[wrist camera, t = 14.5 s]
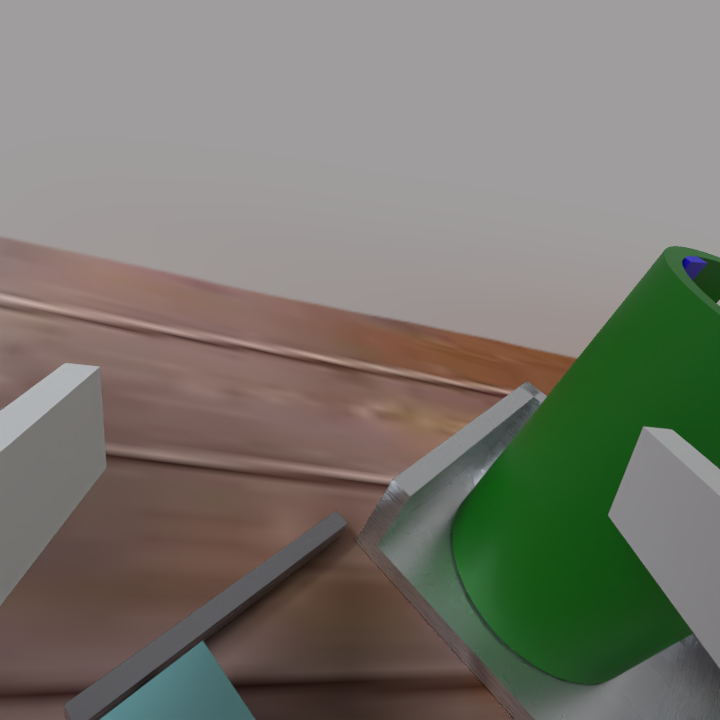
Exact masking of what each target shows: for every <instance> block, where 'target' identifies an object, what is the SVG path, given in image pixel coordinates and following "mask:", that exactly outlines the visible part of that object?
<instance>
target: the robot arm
mask: <svg viewBox="0 0 720 720" xmlns="http://www.w3.org/2000/svg"><path fill="white" fill-rule="evenodd" d="M106 468H107V466H106V451H105V436H104V421H103V406H102V391H101V376H100V367H98V366H89V365H80V364H71V363H65V364H63V365H62V366H60V367H59V368H58V369H56V370H55V371H54V372H52V373H51V374H50V375H48V376H47V377H46V378H44V379H43V380H41V381H40V382H39V383H37V384H36V385H35V386H33V387H32V388H31V389H29V390H28V391H27V392H25V393H24V394H22V395H21V396H20V397H18V398H17V399H16V400H14V401H13V402H12V403H10V404H9V405H8V406H6V407H5V408H4V409H2V410H1V411H0V606H1V604H2V603H3V602H4V601H5V599H6V598H7V597H8V595H9V594H10V593H11V591H12V590H13V589H14V588H15V586H16V585H17V584H18V582H19V581H20V580H21V578H22V577H23V576H24V575H25V573H26V572H27V571H28V569H29V568H30V567H31V565H32V564H33V563H34V561H35V560H36V559H37V558H38V556H39V555H40V554H41V552H42V551H43V550H44V548H45V547H46V546H47V545H48V543H49V542H50V541H51V539H52V538H53V537H54V535H55V534H56V533H57V532H58V530H59V529H60V528H61V526H62V525H63V524H64V522H65V521H66V520H67V519H68V517H69V516H70V515H71V513H72V512H73V511H74V509H75V508H76V507H77V505H78V504H79V503H80V502H81V500H82V499H83V498H84V496H85V495H86V494H87V492H88V491H89V490H90V489H91V487H92V486H93V485H94V483H95V482H96V481H97V479H98V478H99V477H100V476H101V474H102V473H103V472H104V470H105V469H106ZM608 516H609V517H610V519H611V520H612V522H613V523H614V524H615V526H616V527H617V528H618V530H619V531H620V533H621V534H622V535H623V537H624V538H625V539H626V541H627V542H628V544H629V545H630V546H631V548H632V549H633V550H634V552H635V553H636V555H637V556H638V557H639V559H640V560H641V561H642V563H643V564H644V565H645V567H646V568H647V570H648V571H649V572H650V574H651V575H652V576H653V578H654V579H655V581H656V582H657V583H658V585H659V586H660V587H661V589H662V590H663V592H664V593H665V594H666V596H667V597H668V598H669V600H670V601H671V603H672V604H673V605H674V607H675V608H676V609H677V611H678V612H679V613H680V615H681V616H682V618H683V619H684V620H685V622H686V623H687V624H688V626H689V627H690V629H691V630H692V631H693V633H694V634H695V635H696V637H697V638H698V640H699V641H700V642H701V644H702V645H703V646H704V648H705V649H706V651H707V652H708V653H709V655H710V656H711V657H712V659H713V660H714V661H715V663H716V664H717V666H718V667H719V668H720V469H719V468H718V467H716V466H715V465H714V464H713V463H712V462H710V461H709V460H708V459H707V458H706V457H705V456H703V455H702V454H701V453H700V452H699V451H697V450H696V449H695V448H694V447H693V446H691V445H690V444H689V443H688V442H687V441H685V440H684V439H683V438H682V437H681V436H679V435H678V434H677V433H676V432H675V431H673V430H672V429H663V428H653V427H644V426H643V428H642V431H641V434H640V436H639V439H638V441H637V444H636V446H635V449H634V451H633V454H632V456H631V459H630V461H629V464H628V466H627V469H626V471H625V474H624V476H623V479H622V481H621V484H620V486H619V489H618V491H617V494H616V496H615V499H614V501H613V504H612V506H611V509H610V511H609V514H608Z"/></svg>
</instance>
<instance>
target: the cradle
mask: <svg viewBox="0 0 720 720" xmlns="http://www.w3.org/2000/svg"><path fill="white" fill-rule="evenodd" d="M546 397H547V396H546V395H545V394H543V393H542V392H541V391H539V390H538V389H537V388H536V387H534V386H533V385H532V384H530V383H529V382H528V381H526V382H525V383H524V384H522V385H521V386H520V387H518V388H517V389H515V390H514V391H513V392H511V393H510V394H509V395H507V396H506V397H505V398H503V399H502V400H500V401H499V402H498V403H496V404H495V405H494V406H492V407H491V408H490V409H488V410H487V411H485V412H484V413H483V414H481V415H480V416H479V417H477V418H476V419H475V420H473V421H472V422H470V423H469V424H468V425H466V426H465V427H464V428H462V429H461V430H460V431H458V432H457V433H455V434H454V435H453V436H451V437H450V438H449V439H447V440H446V441H445V442H443V443H442V444H440V445H439V446H438V447H436V448H435V449H434V450H432V451H431V452H430V453H428V454H427V455H425V456H424V457H423V458H421V459H420V460H419V461H417V462H416V463H415V464H413V465H412V466H410V467H409V468H408V469H406V470H405V471H404V472H402V473H401V474H400V475H398V476H397V477H395V478H394V479H393V480H392V482H391V483H390V485H389V487H388V488H387V490H386V492H385V493H384V495H383V496H382V498H381V500H380V501H379V503H378V505H377V506H376V508H375V510H374V511H373V513H372V514H371V516H370V518H369V519H368V521H367V523H366V524H365V526H364V527H363V529H362V531H361V532H360V534H359V536H358V537H357V539H356V540H355V541H356V542H357V543H358V544H359V545H360V546H361V547H362V549H363V550H364V551H365V552H366V553H367V554H368V555H369V556H370V558H371V559H372V560H373V561H374V562H375V563H376V564H377V565H378V567H379V568H380V569H381V570H382V571H383V572H384V573H385V574H386V576H387V577H388V578H389V579H390V580H391V581H392V582H393V583H394V584H395V586H396V587H397V588H398V589H399V590H400V591H401V592H402V593H403V595H404V596H405V597H406V598H407V599H408V600H409V601H410V602H411V604H412V605H413V606H414V607H415V608H416V609H417V610H418V611H419V612H420V614H421V615H422V616H423V617H424V618H425V619H426V620H427V621H428V623H429V624H430V625H431V626H432V627H433V628H434V629H435V630H436V632H437V633H438V634H439V635H440V636H441V637H442V638H443V639H444V640H445V642H446V643H447V644H448V645H449V646H450V647H451V648H452V649H453V651H454V652H455V653H456V654H457V655H458V656H459V657H460V658H461V660H462V661H463V662H464V663H465V664H466V665H467V666H468V667H469V668H470V670H471V671H472V672H473V673H474V674H475V675H476V676H477V677H478V679H479V680H480V681H481V682H482V683H483V684H484V685H485V686H486V688H487V689H488V690H489V691H490V692H491V693H492V694H493V695H494V696H495V698H496V699H497V700H498V701H499V702H500V703H501V704H502V705H503V707H504V708H505V709H506V710H507V711H508V712H509V713H510V714H511V716H512V717H513V718H514V719H515V720H720V668H719V667H718V666H717V664H716V663H715V661H714V660H713V659H712V657H711V656H710V655H709V653H708V652H707V651H706V649H705V648H704V646H703V645H702V644H701V642H700V641H699V640H698V638H697V637H696V635H695V634H694V633H693V634H691V635H689V636H688V637H686V638H684V639H682V640H681V641H679V642H677V643H675V644H674V645H672V646H670V647H668V648H667V649H665V650H663V651H661V652H659V653H658V654H656V655H654V656H652V657H651V658H649V659H647V660H645V661H644V662H642V663H640V664H638V665H637V666H635V667H633V668H631V669H630V670H628V671H626V672H624V673H623V674H621V675H619V676H617V677H616V678H614V679H611V680H609V681H606V682H603V683H597V684H582V683H575V682H570V681H567V680H563V679H561V678H558V677H555V676H553V675H551V674H548V673H546V672H545V671H543V670H541V669H539V668H537V667H536V666H534V665H532V664H531V663H529V662H528V661H527V660H525V659H524V658H522V657H521V656H520V655H518V654H517V653H516V652H515V651H514V650H513V649H511V648H510V647H509V646H508V645H507V644H506V643H505V642H504V641H503V640H502V639H501V638H500V637H499V636H498V635H497V634H496V633H495V632H494V630H493V629H492V628H491V627H490V626H489V625H488V623H487V622H486V621H485V619H484V618H483V617H482V615H481V614H480V613H479V611H478V609H477V608H476V606H475V605H474V603H473V601H472V600H471V598H470V596H469V594H468V592H467V591H466V588H465V586H464V584H463V582H462V579H461V577H460V574H459V571H458V568H457V565H456V561H455V557H454V552H453V544H452V529H453V522H454V518H455V515H456V512H457V510H458V508H459V506H460V504H461V503H462V502H463V500H464V499H465V498H466V497H467V495H468V494H469V493H470V492H471V490H472V489H473V488H474V487H475V485H476V484H477V483H478V482H479V480H480V479H481V478H482V477H483V475H484V474H485V473H486V472H487V470H488V469H489V468H490V467H491V466H492V464H493V463H494V462H495V461H496V459H497V458H498V457H499V456H500V454H501V453H502V452H503V451H504V449H505V448H506V447H507V446H508V444H509V443H510V442H511V441H512V439H513V438H514V437H515V436H516V434H517V433H518V432H519V431H520V429H521V428H522V427H523V426H524V424H525V423H526V422H527V421H528V420H529V418H530V417H531V416H532V415H533V413H534V412H535V411H536V410H537V408H538V407H539V406H540V405H541V403H542V402H543V401H544V400H545V398H546Z"/></svg>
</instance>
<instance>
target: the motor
mask: <svg viewBox="0 0 720 720" xmlns="http://www.w3.org/2000/svg"><path fill="white" fill-rule="evenodd" d="M719 300H720V258H719V257H717V256H714V255H711V254H708V253H705V252H701V251H698V250H695V249H690V248H686V247H678V246H674V247H668V248H667V249H665V250H664V252H663V253H662V254H661V255H660V257H659V258H658V259H657V261H656V262H655V263H654V264H653V265H652V267H651V268H650V269H649V271H648V272H647V273H646V274H645V275H644V277H643V278H642V279H641V281H640V282H639V283H638V284H637V285H636V287H635V288H634V289H633V290H632V292H631V293H630V294H629V295H628V297H627V298H626V299H625V300H624V301H623V303H622V304H621V305H620V306H619V308H618V309H617V310H616V312H615V313H614V314H613V315H612V316H611V318H610V319H609V320H608V321H607V323H606V324H605V325H604V326H603V328H602V329H601V330H600V332H599V333H598V334H597V335H596V336H595V337H594V339H593V340H592V341H591V343H590V344H589V345H588V346H587V348H586V349H585V350H584V351H583V353H582V354H581V355H580V356H579V357H578V359H577V360H576V361H575V362H574V364H573V365H572V366H571V367H570V369H569V370H568V371H567V372H566V374H565V375H564V376H563V377H562V379H561V380H560V381H559V382H558V383H557V385H556V386H555V387H554V388H553V390H552V391H551V392H550V393H549V395H548V396H547V397H546V398H545V400H544V401H543V402H542V403H541V405H540V406H539V407H538V408H537V410H536V411H535V412H534V413H533V415H532V416H531V417H530V418H529V420H528V421H527V422H526V423H525V424H524V426H523V427H522V428H521V429H520V431H519V432H518V433H517V434H516V436H515V437H514V438H513V439H512V441H511V442H510V443H509V444H508V446H507V447H506V448H505V449H504V451H503V452H502V453H501V454H500V456H499V457H498V458H497V459H496V461H495V462H494V463H493V464H492V466H491V467H490V468H489V469H488V470H487V472H486V473H485V474H484V475H483V477H482V478H481V479H480V480H479V482H478V483H477V484H476V485H475V487H474V488H473V489H472V490H471V492H470V493H469V494H468V495H467V497H466V498H465V499H464V500H463V502H462V503H461V504H460V506H459V508H458V510H457V512H456V515H455V518H454V522H453V529H452V544H453V552H454V557H455V561H456V565H457V568H458V571H459V574H460V577H461V579H462V582H463V584H464V586H465V588H466V591H467V592H468V594H469V596H470V598H471V600H472V601H473V603H474V605H475V606H476V608H477V609H478V611H479V613H480V614H481V615H482V617H483V618H484V619H485V621H486V622H487V623H488V625H489V626H490V627H491V628H492V629H493V630H494V632H495V633H496V634H497V635H498V636H499V637H500V638H501V639H502V640H503V641H504V642H505V643H506V644H507V645H508V646H509V647H510V648H511V649H513V650H514V651H515V652H516V653H517V654H518V655H520V656H521V657H522V658H524V659H525V660H527V661H528V662H529V663H531V664H532V665H534V666H536V667H537V668H539V669H541V670H543V671H545V672H546V673H548V674H551V675H553V676H555V677H558V678H561V679H563V680H567V681H570V682H575V683H582V684H597V683H603V682H606V681H609V680H611V679H614V678H616V677H617V676H619V675H621V674H623V673H624V672H626V671H628V670H630V669H631V668H633V667H635V666H637V665H638V664H640V663H642V662H644V661H645V660H647V659H649V658H651V657H652V656H654V655H656V654H658V653H659V652H661V651H663V650H665V649H667V648H668V647H670V646H672V645H674V644H675V643H677V642H679V641H681V640H682V639H684V638H686V637H688V636H689V635H691V634H693V631H692V630H691V629H690V627H689V626H688V624H687V623H686V622H685V620H684V619H683V618H682V616H681V615H680V613H679V612H678V611H677V609H676V608H675V607H674V605H673V604H672V603H671V601H670V600H669V598H668V597H667V596H666V594H665V593H664V592H663V590H662V589H661V587H660V586H659V585H658V583H657V582H656V581H655V579H654V578H653V576H652V575H651V574H650V572H649V571H648V570H647V568H646V567H645V565H644V564H643V563H642V561H641V560H640V559H639V557H638V556H637V555H636V553H635V552H634V550H633V549H632V548H631V546H630V545H629V544H628V542H627V541H626V539H625V538H624V537H623V535H622V534H621V533H620V531H619V530H618V528H617V527H616V526H615V524H614V523H613V522H612V520H611V519H610V517H609V516H608V514H609V511H610V509H611V506H612V504H613V501H614V499H615V496H616V494H617V491H618V489H619V486H620V484H621V481H622V479H623V476H624V474H625V471H626V469H627V466H628V464H629V461H630V459H631V456H632V454H633V451H634V449H635V446H636V444H637V441H638V439H639V436H640V434H641V431H642V428H643V426H644V427H653V428H663V429H672V430H673V431H675V432H676V433H677V434H678V435H679V436H681V437H682V438H683V439H684V440H685V441H687V442H688V443H689V444H690V445H691V446H693V447H694V448H695V449H696V450H697V451H699V452H700V453H701V454H702V455H703V456H705V457H706V458H707V459H708V460H709V461H710V462H712V463H713V464H714V465H715V466H716V467H718V468H719V469H720V306H719V305H717V304H716V303H717V302H718V301H719Z"/></svg>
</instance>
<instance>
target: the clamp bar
mask: <svg viewBox="0 0 720 720" xmlns="http://www.w3.org/2000/svg"><path fill="white" fill-rule="evenodd" d="M100 720H255V718H254V717H253V715H252V714H251V712H250V711H249V709H248V708H247V706H246V705H245V703H244V702H243V700H242V699H241V697H240V696H239V694H238V693H237V691H236V690H235V688H234V687H233V685H232V684H231V682H230V681H229V679H228V678H227V676H226V675H225V673H224V672H223V670H222V669H221V667H220V666H219V664H218V663H217V661H216V660H215V658H214V657H213V655H212V654H211V652H210V651H209V649H208V648H207V646H206V645H205V643H204V642H203V641H201V642H200V643H199V644H197V645H196V646H195V647H194V648H192V649H191V650H190V651H188V652H187V653H186V654H184V655H183V656H182V657H181V658H179V659H178V660H177V661H175V662H174V663H173V664H171V665H170V666H169V667H167V668H166V669H165V670H164V671H162V672H161V673H160V674H158V675H157V676H156V677H154V678H153V679H152V680H151V681H149V682H148V683H147V684H145V685H144V686H143V687H141V688H140V689H139V690H138V691H136V692H135V693H134V694H132V695H131V696H130V697H128V698H127V699H126V700H125V701H123V702H122V703H121V704H119V705H118V706H117V707H115V708H114V709H113V710H112V711H110V712H109V713H108V714H106V715H105V716H104V717H102V718H101V719H100Z"/></svg>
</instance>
